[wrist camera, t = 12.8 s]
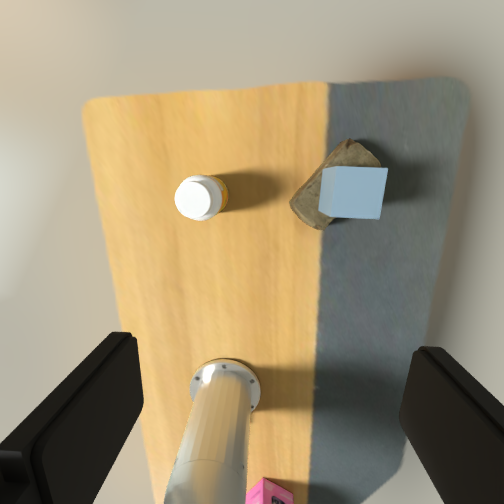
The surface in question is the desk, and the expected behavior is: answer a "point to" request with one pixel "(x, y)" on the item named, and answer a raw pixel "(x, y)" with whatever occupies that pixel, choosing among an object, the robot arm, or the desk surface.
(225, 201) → the supplement bottle
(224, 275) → the desk surface
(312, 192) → the stone block
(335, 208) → the slate cube
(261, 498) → the gum box
